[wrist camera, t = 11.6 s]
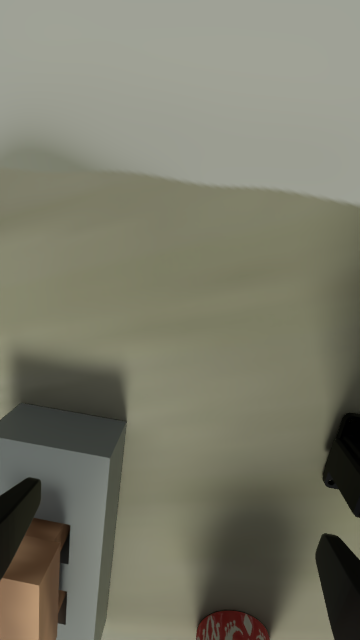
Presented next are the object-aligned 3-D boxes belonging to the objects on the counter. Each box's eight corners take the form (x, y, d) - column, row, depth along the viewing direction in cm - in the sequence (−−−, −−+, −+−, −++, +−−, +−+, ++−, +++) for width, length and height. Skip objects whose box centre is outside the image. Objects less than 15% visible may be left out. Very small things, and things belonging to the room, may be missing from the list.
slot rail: (126, 421, 22) (110, 457, 18) (105, 619, 28) (90, 679, 24) (21, 402, 22) (-18, 434, 18) (23, 602, 28) (-6, 657, 24)
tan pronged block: (84, 493, 23) (39, 585, 16) (79, 577, 25) (38, 685, 19) (45, 485, 23) (-16, 574, 16) (43, 569, 25) (-9, 674, 19)
